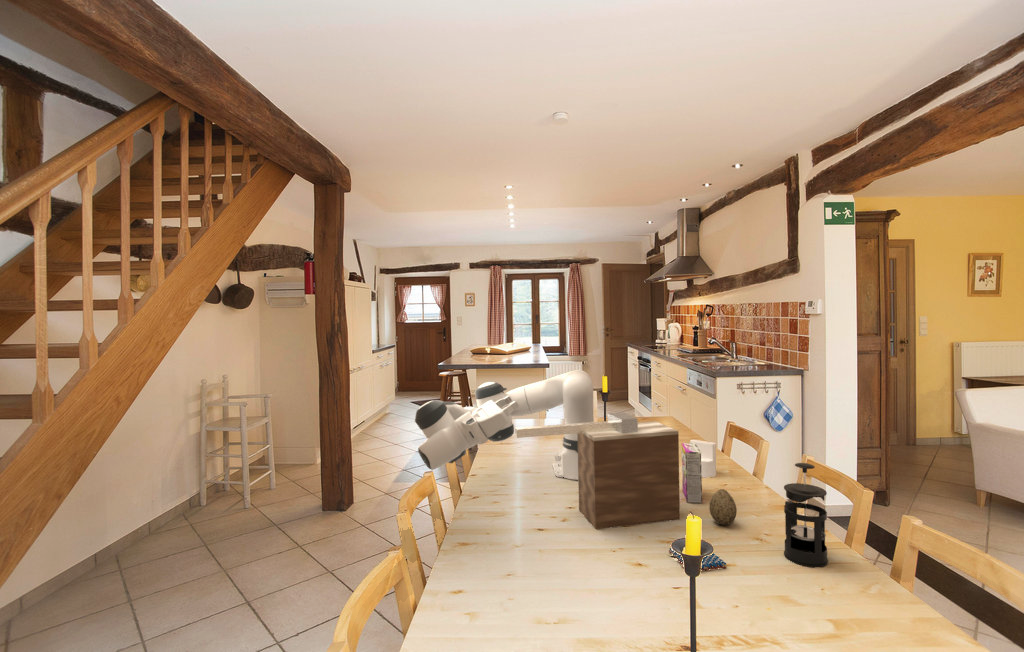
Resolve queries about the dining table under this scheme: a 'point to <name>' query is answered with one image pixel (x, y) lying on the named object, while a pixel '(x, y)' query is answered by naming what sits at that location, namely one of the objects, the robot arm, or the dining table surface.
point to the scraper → (583, 427)
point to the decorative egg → (723, 507)
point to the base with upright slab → (707, 457)
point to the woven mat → (704, 561)
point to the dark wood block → (629, 476)
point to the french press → (802, 534)
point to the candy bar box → (691, 473)
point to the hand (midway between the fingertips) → (513, 400)
